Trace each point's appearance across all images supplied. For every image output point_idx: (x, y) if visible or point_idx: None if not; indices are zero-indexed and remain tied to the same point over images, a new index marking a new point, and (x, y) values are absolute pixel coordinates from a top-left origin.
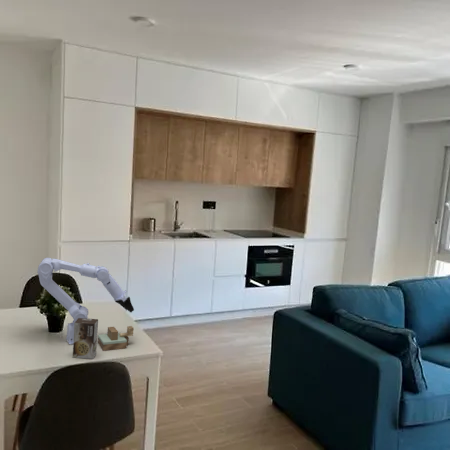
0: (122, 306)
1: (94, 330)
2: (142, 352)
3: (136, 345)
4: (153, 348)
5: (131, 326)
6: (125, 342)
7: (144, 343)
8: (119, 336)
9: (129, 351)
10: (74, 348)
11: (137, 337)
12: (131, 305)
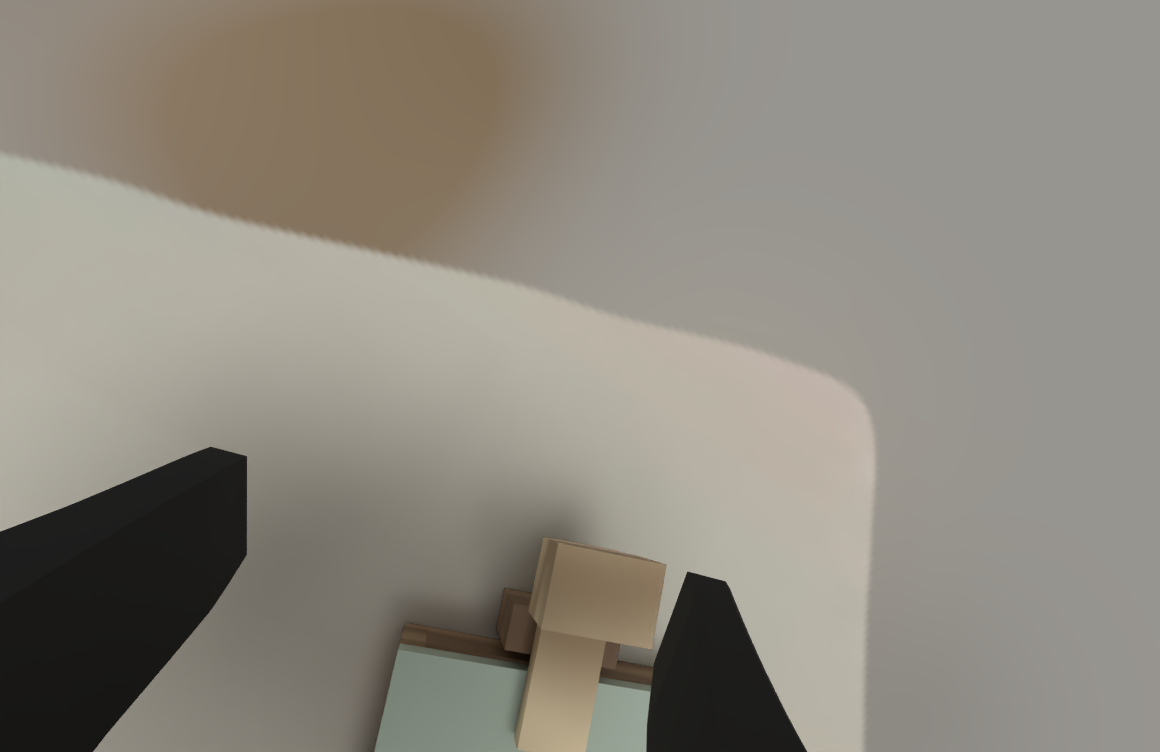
0: (113, 719)
1: None
2: (847, 550)
3: (642, 508)
4: (799, 378)
5: (576, 558)
6: None
7: (629, 389)
8: None
9: None
10: None
11: (415, 359)
12: (778, 736)
